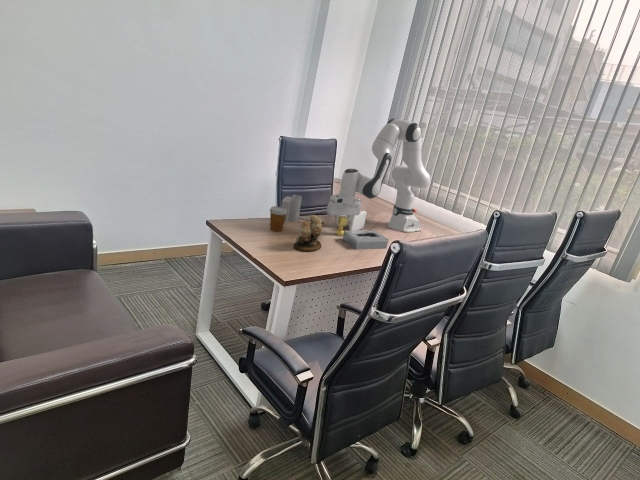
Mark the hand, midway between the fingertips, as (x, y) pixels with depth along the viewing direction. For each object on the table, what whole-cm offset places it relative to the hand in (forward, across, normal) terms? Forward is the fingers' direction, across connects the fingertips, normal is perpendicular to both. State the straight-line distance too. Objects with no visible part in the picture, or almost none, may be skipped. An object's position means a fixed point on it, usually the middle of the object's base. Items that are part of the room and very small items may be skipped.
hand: (341, 222), depth 226 cm
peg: (+8, 0, 0) cm, 8 cm away
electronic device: (+8, +14, -21) cm, 26 cm away
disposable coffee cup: (+8, +35, -9) cm, 37 cm away
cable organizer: (+8, -13, -10) cm, 18 cm away
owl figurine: (+8, +27, +15) cm, 32 cm away
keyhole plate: (+8, -8, +14) cm, 18 cm away
